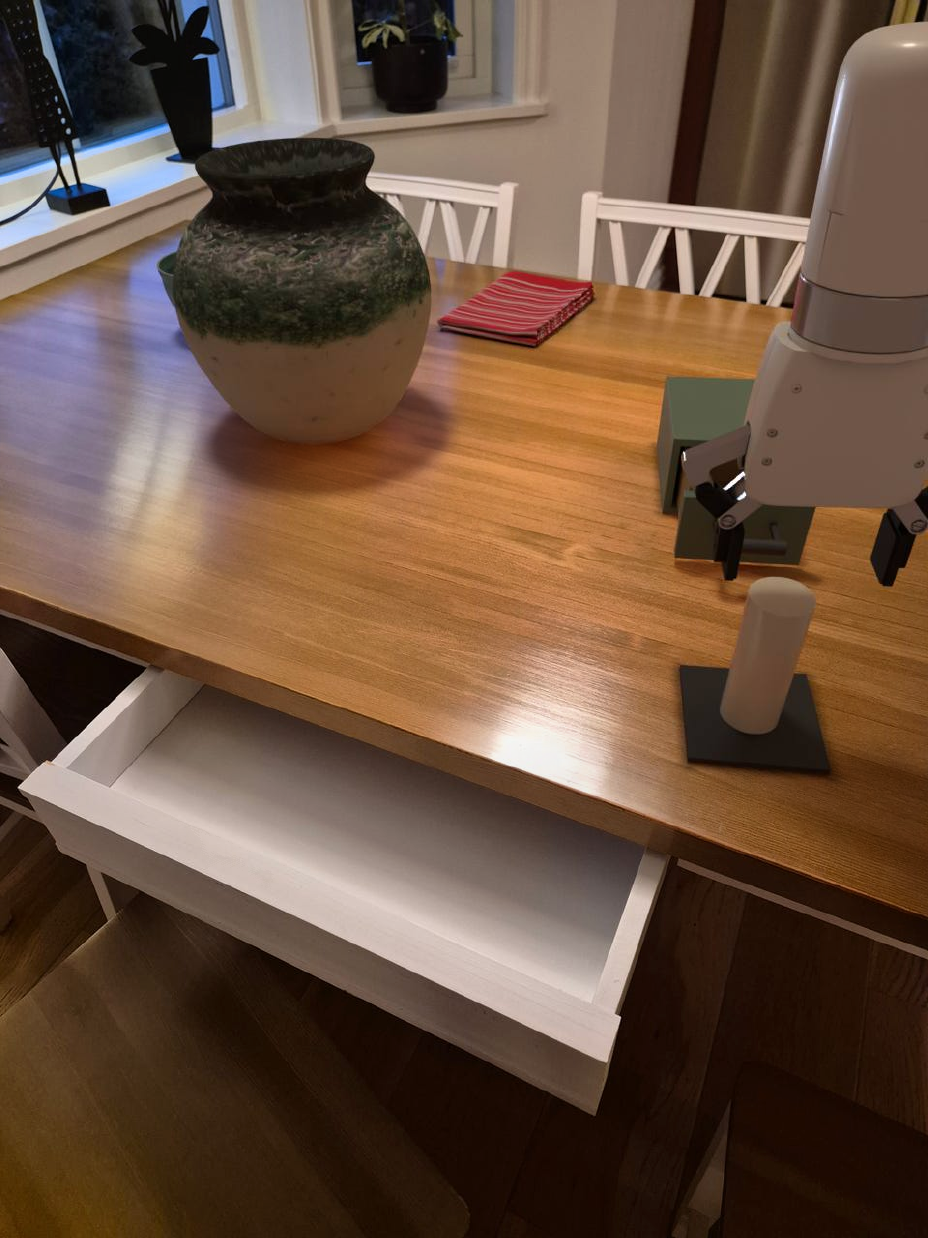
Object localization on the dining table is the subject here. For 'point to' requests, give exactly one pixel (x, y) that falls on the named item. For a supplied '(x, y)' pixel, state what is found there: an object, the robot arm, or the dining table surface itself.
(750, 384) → the cabinet
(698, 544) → the drawer
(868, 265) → the robot arm
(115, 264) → the dining table surface
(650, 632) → the dining table surface
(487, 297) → the dish towel
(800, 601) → the cylinder
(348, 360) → the vase
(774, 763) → the mat
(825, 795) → the dining table surface
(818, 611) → the dining table surface
